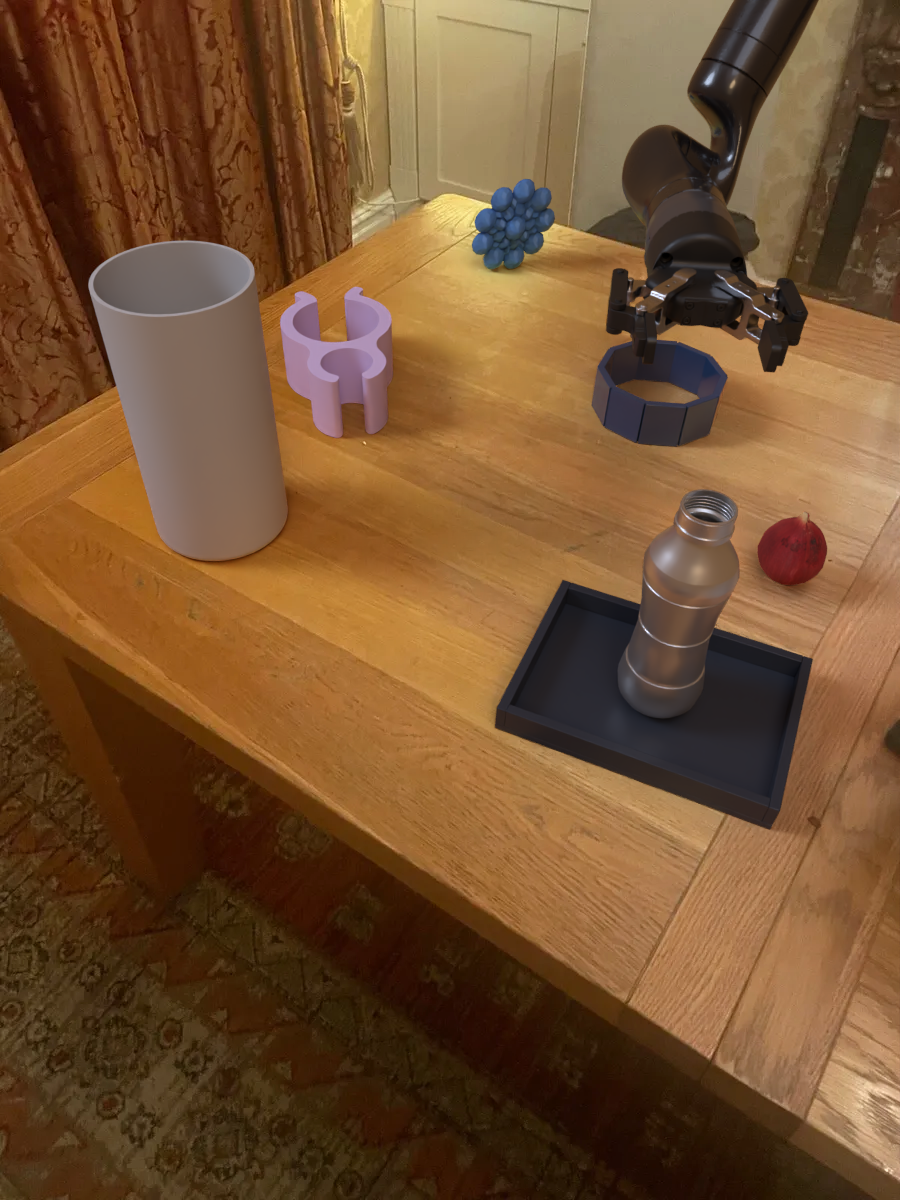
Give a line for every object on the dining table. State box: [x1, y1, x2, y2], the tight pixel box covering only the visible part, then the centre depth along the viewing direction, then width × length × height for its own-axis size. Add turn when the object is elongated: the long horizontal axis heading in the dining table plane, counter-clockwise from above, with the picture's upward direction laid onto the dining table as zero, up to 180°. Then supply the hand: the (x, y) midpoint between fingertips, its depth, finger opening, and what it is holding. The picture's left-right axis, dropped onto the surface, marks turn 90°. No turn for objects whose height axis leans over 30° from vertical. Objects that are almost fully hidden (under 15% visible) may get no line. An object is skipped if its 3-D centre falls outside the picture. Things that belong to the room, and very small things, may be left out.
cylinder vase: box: [87, 240, 289, 562], centre depth 79 cm, size 12×12×25 cm
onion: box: [756, 510, 828, 586], centre depth 81 cm, size 6×6×8 cm
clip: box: [279, 286, 394, 439], centre depth 103 cm, size 20×12×7 cm, turn 12°
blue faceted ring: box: [591, 339, 729, 448], centre depth 101 cm, size 14×14×5 cm
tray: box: [494, 579, 814, 830], centre depth 73 cm, size 22×16×3 cm
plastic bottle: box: [618, 488, 741, 719], centre depth 66 cm, size 6×7×20 cm
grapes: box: [471, 178, 556, 270], centre depth 123 cm, size 12×7×12 cm, turn 106°
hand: (711, 357), depth 63 cm, fingers open, 8 cm apart
